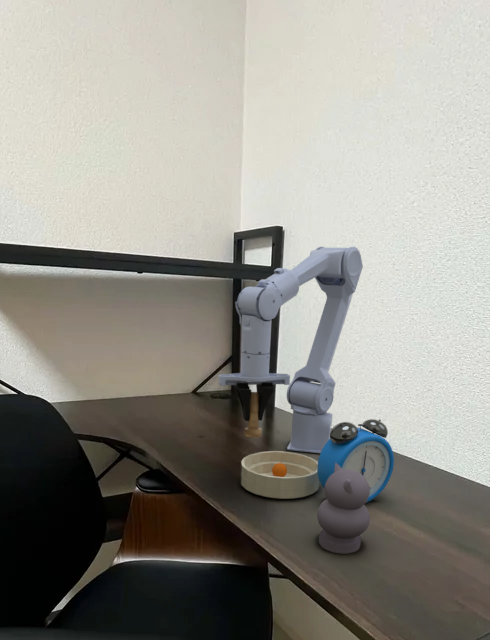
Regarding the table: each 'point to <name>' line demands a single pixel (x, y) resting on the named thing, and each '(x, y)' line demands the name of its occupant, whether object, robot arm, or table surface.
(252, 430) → the muddler
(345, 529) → the cat figurine
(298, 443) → the robot arm
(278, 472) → the ball
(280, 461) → the bowl
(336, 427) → the alarm clock
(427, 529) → the table surface
